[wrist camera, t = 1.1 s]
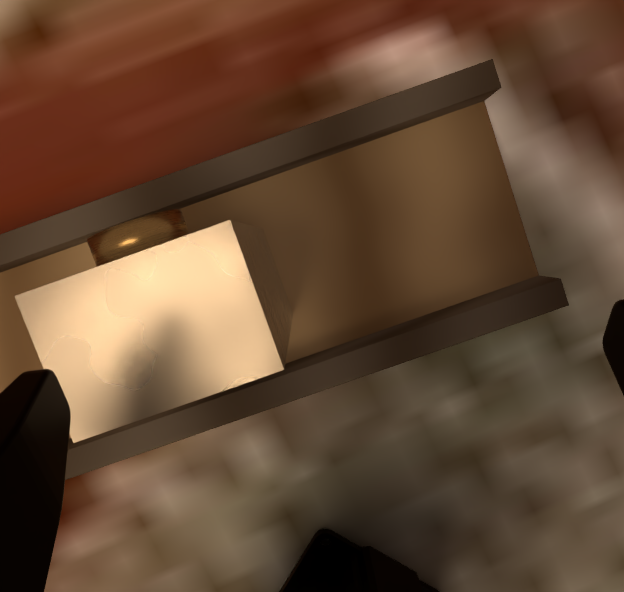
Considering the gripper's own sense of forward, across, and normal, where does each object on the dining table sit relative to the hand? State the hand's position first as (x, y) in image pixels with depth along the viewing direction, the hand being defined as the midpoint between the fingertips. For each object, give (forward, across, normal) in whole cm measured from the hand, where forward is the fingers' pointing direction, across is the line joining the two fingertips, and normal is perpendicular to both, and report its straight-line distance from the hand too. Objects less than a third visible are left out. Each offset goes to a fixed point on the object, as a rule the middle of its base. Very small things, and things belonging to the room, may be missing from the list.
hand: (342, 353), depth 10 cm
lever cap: (+12, +3, +7) cm, 14 cm away
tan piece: (+14, +3, +8) cm, 16 cm away
